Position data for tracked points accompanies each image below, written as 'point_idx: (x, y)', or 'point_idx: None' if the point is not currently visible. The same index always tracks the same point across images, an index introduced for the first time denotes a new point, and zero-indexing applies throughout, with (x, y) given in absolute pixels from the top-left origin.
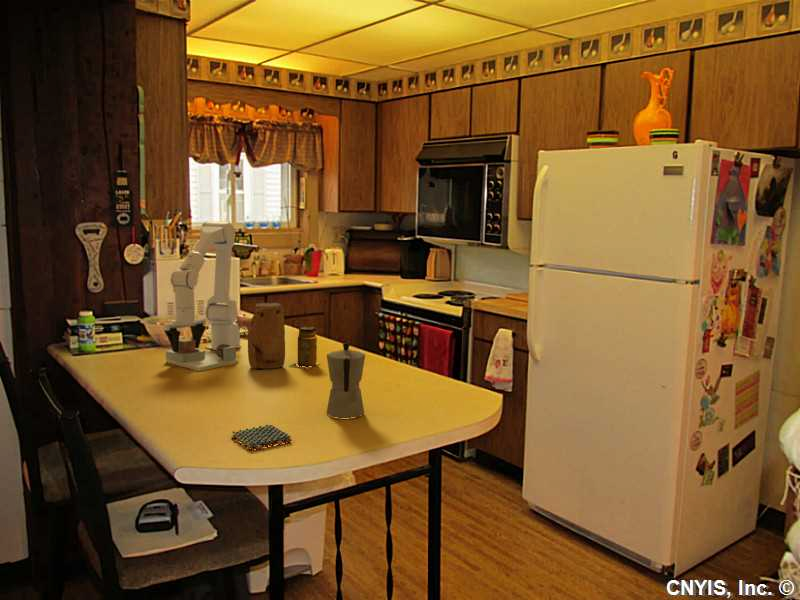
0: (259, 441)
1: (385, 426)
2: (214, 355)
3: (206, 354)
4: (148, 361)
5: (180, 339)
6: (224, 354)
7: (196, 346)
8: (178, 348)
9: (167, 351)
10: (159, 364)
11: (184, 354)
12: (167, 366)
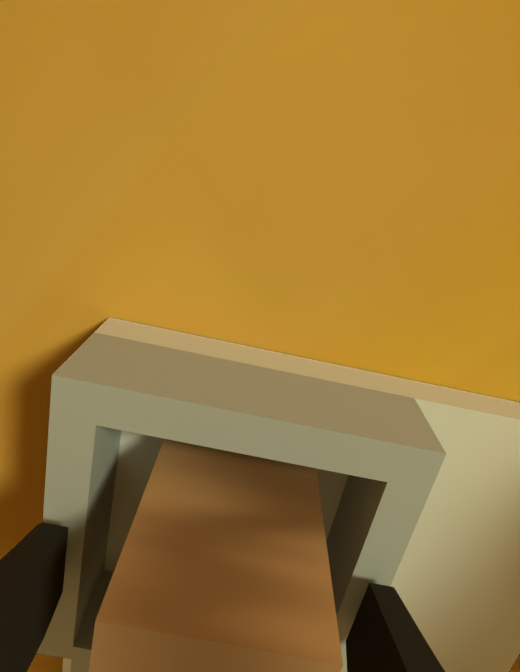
0: None
1: None
2: (472, 624)
3: (483, 548)
4: (8, 88)
5: (180, 655)
6: None
7: (351, 656)
8: (36, 644)
9: (51, 408)
10: (3, 321)
11: (70, 656)
12: (5, 441)
